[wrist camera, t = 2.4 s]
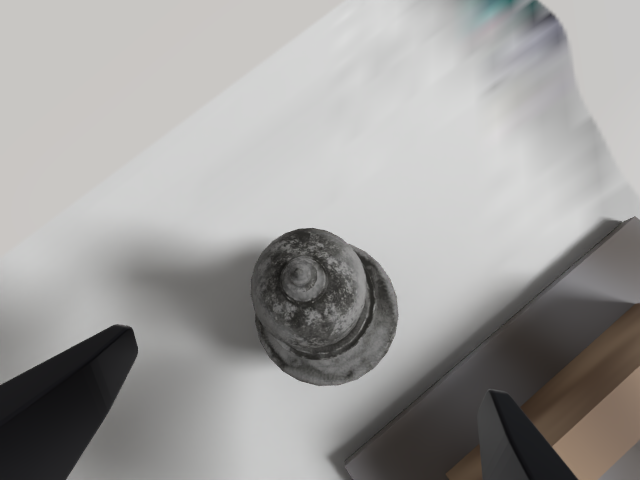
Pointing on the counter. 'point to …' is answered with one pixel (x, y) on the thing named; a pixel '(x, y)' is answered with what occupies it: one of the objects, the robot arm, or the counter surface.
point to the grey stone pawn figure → (322, 307)
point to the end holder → (538, 380)
